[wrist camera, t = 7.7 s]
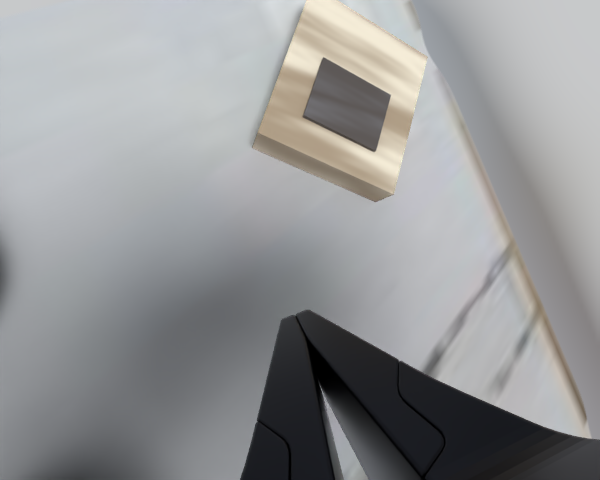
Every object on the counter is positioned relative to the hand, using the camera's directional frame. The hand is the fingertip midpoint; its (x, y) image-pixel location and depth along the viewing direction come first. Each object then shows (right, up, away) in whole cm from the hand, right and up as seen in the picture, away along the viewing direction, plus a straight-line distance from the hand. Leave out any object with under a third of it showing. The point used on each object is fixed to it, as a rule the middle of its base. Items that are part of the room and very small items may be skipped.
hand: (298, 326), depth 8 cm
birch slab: (+2, +8, +13) cm, 16 cm away
